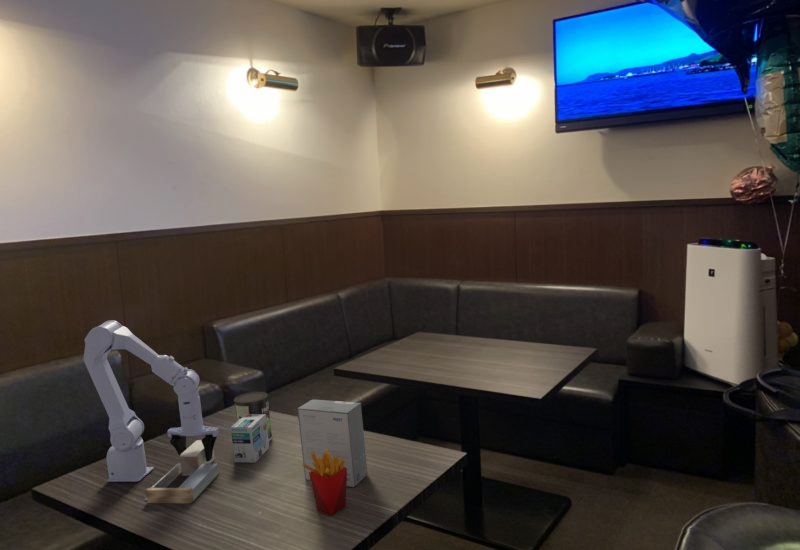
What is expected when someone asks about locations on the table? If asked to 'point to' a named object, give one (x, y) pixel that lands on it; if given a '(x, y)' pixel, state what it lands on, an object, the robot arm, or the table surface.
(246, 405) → the coffee can
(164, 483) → the grey panel
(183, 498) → the shelf rail
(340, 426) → the hard drive box
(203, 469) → the two-layer flat tile
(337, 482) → the french fries
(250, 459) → the light bulb box
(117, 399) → the robot arm
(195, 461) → the cream rectangular block
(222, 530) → the table surface
